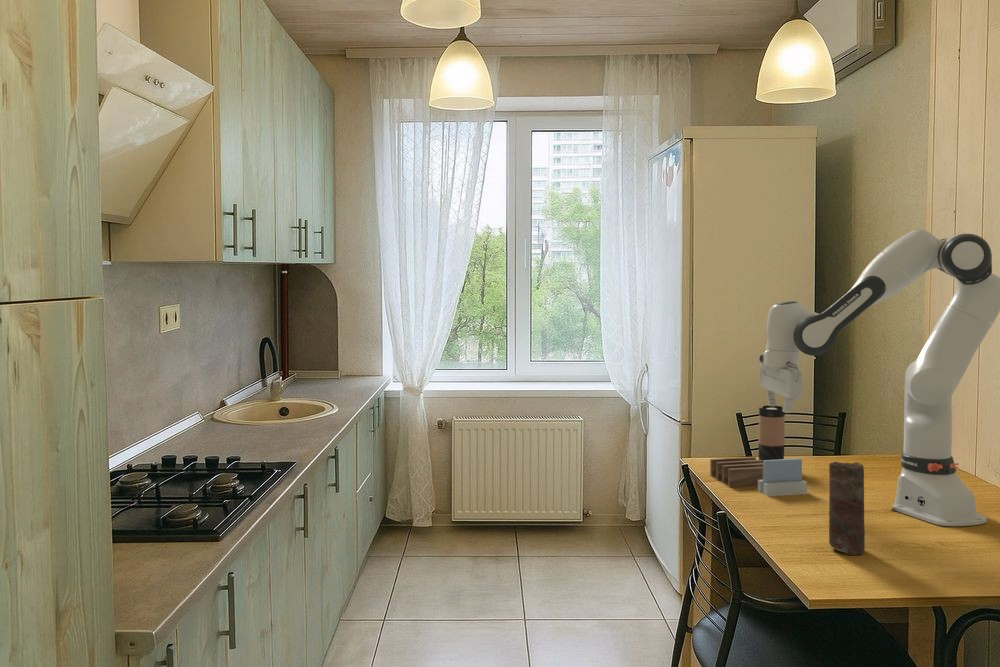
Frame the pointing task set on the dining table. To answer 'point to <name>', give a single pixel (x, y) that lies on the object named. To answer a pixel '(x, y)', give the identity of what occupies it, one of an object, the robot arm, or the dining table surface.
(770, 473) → the side plate
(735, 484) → the dish rack
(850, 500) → the dark brown tall block
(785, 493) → the plate stand
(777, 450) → the travel mug
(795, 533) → the dining table surface
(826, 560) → the dining table surface
